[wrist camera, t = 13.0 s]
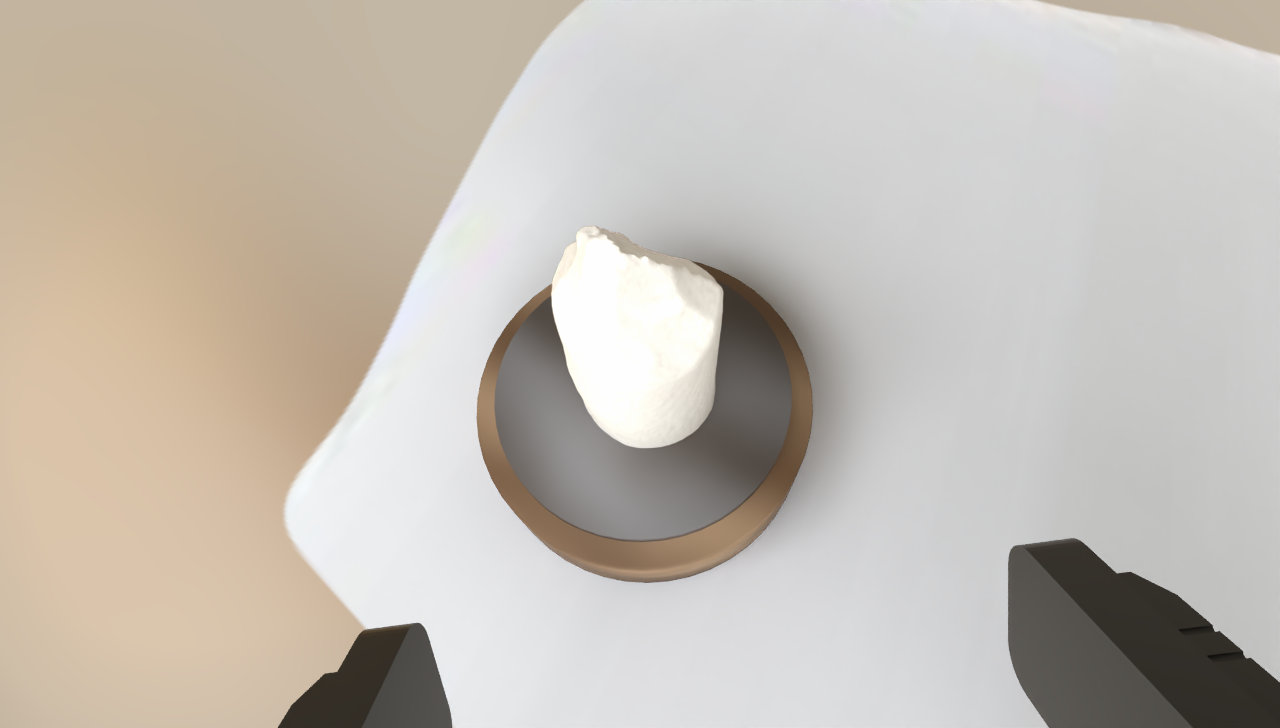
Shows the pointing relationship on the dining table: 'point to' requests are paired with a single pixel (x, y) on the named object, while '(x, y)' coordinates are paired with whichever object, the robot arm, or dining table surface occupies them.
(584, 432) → the podium
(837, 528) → the dining table surface
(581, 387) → the white tall rounded piece
